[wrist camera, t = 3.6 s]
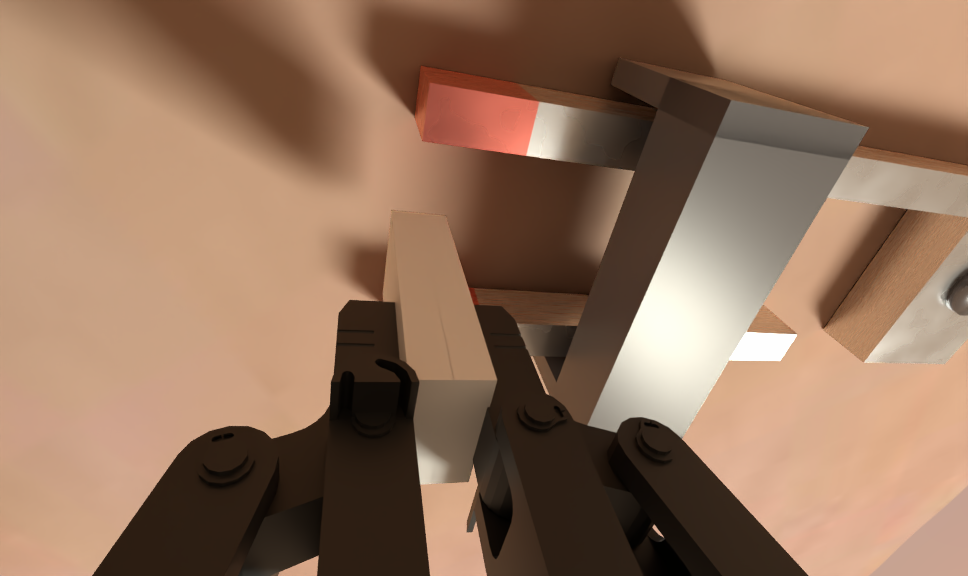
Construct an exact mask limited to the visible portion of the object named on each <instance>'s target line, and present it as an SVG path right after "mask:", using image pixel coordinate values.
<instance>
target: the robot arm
mask: <svg viewBox="0 0 968 576" xmlns="http://www.w3.org/2000/svg"><path fill="white" fill-rule="evenodd" d="M473 464H474V468H475V473H476V478H477V482H478V486H477V490H476V493H475V496H474V500H473V503H472V506H471V510H470V513H469V516H468V520H467V532H473V528H474V525H475V522H477V527H478V532H479V537H480V542H481V547H482V553H483V558H484V563H485V568H486V573H487V576H808V575H807V574H806V572H805V571H804V570H803V569H802V568H801V567H800V566H799V565H798V564H797V563H796V562H795V561H794V560H793V558H792V557H791V556H790V555H789V554H788V553H787V552H786V551H785V550H784V549H783V548H782V547H781V545H780V544H779V543H778V542H777V541H776V540H775V539H774V538H773V537H772V536H771V535H770V534H769V533H768V531H767V530H766V529H765V528H764V527H763V526H762V525H761V524H760V523H759V522H758V521H757V520H756V518H755V517H754V516H753V515H752V514H751V513H750V512H749V511H748V510H747V509H746V508H745V507H744V506H743V504H742V503H741V502H740V501H739V500H738V499H737V498H736V497H735V496H734V495H733V494H732V493H731V491H730V490H729V489H728V488H727V487H726V486H725V485H724V484H723V483H722V482H721V481H720V480H719V479H718V477H717V476H716V475H715V474H714V473H713V472H712V471H711V470H710V469H709V468H708V467H707V466H706V464H705V463H704V462H703V461H702V460H701V459H700V458H699V457H698V456H697V455H696V454H695V453H694V452H693V450H692V449H691V448H690V447H689V446H688V445H687V444H686V443H685V442H684V441H683V440H682V439H681V438H680V437H679V436H678V435H677V434H676V433H675V432H673V431H672V430H671V429H670V428H669V427H667V426H665V425H663V424H661V423H659V422H657V421H655V420H652V419H648V418H644V417H633V418H629V419H627V420H625V421H623V422H621V424H620V426H619V428H618V430H617V432H612V431H608V430H604V429H600V428H596V427H592V426H588V425H585V424H582V423H579V422H576V421H574V420H573V418H572V416H571V414H570V413H569V411H568V410H567V409H566V407H565V406H564V405H563V404H562V403H560V402H559V401H558V400H557V399H555V398H554V397H552V396H550V395H547V394H546V393H545V391H544V388H543V386H542V383H541V381H540V379H539V376H538V374H537V371H536V369H535V366H534V364H533V362H532V359H531V357H530V354H529V352H528V350H527V349H526V345H525V342H524V340H523V338H522V337H521V333H520V330H519V328H518V326H517V323H516V321H515V319H514V318H513V317H512V316H511V315H510V314H509V313H508V312H507V311H506V310H505V309H504V308H503V307H502V306H491V305H474V304H473V301H472V298H471V295H470V291H469V288H468V285H467V282H466V279H465V275H464V272H463V269H462V266H461V263H460V259H459V256H458V253H457V250H456V247H455V243H454V240H453V237H452V234H451V231H450V227H449V224H448V221H447V218H446V215H436V214H426V213H416V212H406V211H396V210H391V219H390V229H389V238H388V248H387V257H386V267H385V276H384V286H383V302H380V301H359V300H349V301H348V303H347V304H346V305H345V306H344V308H343V309H342V310H341V311H340V312H339V316H338V329H337V341H336V354H335V366H334V375H333V378H332V381H331V394H330V406H329V407H328V409H327V411H326V412H325V414H324V415H323V416H322V417H321V418H319V419H318V420H317V421H316V422H315V423H313V424H311V425H310V426H308V427H307V428H305V429H302V430H299V431H297V432H294V433H291V434H288V435H284V436H280V437H277V438H273V439H271V438H270V437H269V436H268V435H267V434H266V433H265V432H263V431H261V430H258V429H255V428H252V427H249V426H228V427H224V428H220V429H216V430H212V431H209V432H207V433H205V434H204V435H202V436H200V437H198V438H196V439H195V440H193V441H191V442H190V443H189V444H188V445H187V446H186V447H185V448H184V449H183V450H182V451H181V452H180V453H179V454H178V455H177V457H176V458H175V459H174V461H173V462H172V464H171V465H170V466H169V468H168V469H167V471H166V472H165V474H164V475H163V476H162V478H161V479H160V481H159V482H158V483H157V485H156V486H155V488H154V489H153V491H152V492H151V493H150V495H149V496H148V498H147V499H146V500H145V502H144V503H143V505H142V506H141V507H140V509H139V510H138V512H137V513H136V515H135V516H134V517H133V519H132V520H131V522H130V523H129V524H128V526H127V527H126V529H125V530H124V531H123V533H122V534H121V536H120V537H119V539H118V540H117V541H116V543H115V544H114V546H113V547H112V548H111V550H110V551H109V553H108V554H107V556H106V557H105V558H104V560H103V561H102V563H101V564H100V565H99V567H98V568H97V570H96V571H95V572H94V574H93V575H92V576H278V574H279V572H280V571H283V570H285V569H287V568H290V567H292V566H295V565H297V564H299V563H302V562H304V561H307V560H309V559H311V558H314V557H316V556H318V555H319V559H318V572H317V576H430V572H429V562H428V553H427V543H426V534H425V525H424V515H423V506H422V496H421V487H420V484H438V483H457V482H469V478H470V475H471V471H472V468H473ZM654 524H655V526H656V527H657V528H658V530H659V531H660V532H661V534H662V535H663V536H664V538H663V537H662V536H660V535H658V533H657V532H656V531H655V530H654V529H653V528H652V527H653V525H654Z"/></svg>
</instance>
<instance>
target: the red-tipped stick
mask: <svg viewBox="0 0 968 576" xmlns="http://www.w3.org/2000/svg"><path fill="white" fill-rule="evenodd" d="M469 291H470V295H471V298H472V301H473V304H474V305H491V306H502V307H503V308H504V309H505V310H506V311H507V312H508V313H509V314H510V315H511V316H512V317H513V318H514V319H515V321H516V323H517V326H518V328H519V330H520V333H521V337H522V338H523V340H524V342H525V345H526V349H527V350H528V352H529V354H530V356H552V357H566V356H567V353H568V350H569V347H570V345H571V342H572V339H573V337H574V334H575V331H576V329H577V326H578V323H579V320H580V318H581V315H582V312H583V310H584V307H585V304H586V302H587V299H588V296H589V295H584V294H566V293H549V292H532V291H515V290H498V289H481V288H469ZM797 335H798V334H797V333H795V332H794V331H793V330H792V329H791V328H790V327H788V326H787V325H786V324H785V323H784V322H783V321H781V320H780V319H779V318H778V317H777V316H776V315H775V314H773V313H772V312H771V311H770V310H769V309H768V308H766V307H765V306H764V305H762V307H761V308H760V310H759V312H758V313H757V315H756V317H755V318H754V320H753V322H752V323H751V325H750V327H749V328H748V330H747V332H746V333H745V335H744V337H743V338H742V340H741V341H740V343H739V345H738V346H737V348H736V350H735V351H734V353H733V355H732V356H731V358H730V360H760V361H780V360H781V358H782V357H783V356H784V354H785V353H786V351H787V350H788V348H789V347H790V345H791V344H792V342H793V341H794V339H795V338H796V336H797Z"/></svg>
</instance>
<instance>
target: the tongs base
mask: <svg viewBox="0 0 968 576" xmlns="http://www.w3.org/2000/svg"><path fill="white" fill-rule="evenodd" d="M657 110H658V109H656V108H650V107H645V106H639V105H634V104H628V103H623V102H617V101H612V100H606V99H601V98H595V97H590V96H584V95H579V94H574V93H568V92H563V91H557V90H552V89H546V88H541V87H535V86H530V85H524V84H519V83H513V82H508V81H502V80H497V79H491V78H486V77H480V76H475V75H469V74H464V73H458V72H453V71H447V70H442V69H436V68H431V67H425V66H421V68H420V76H419V85H418V93H417V102H416V110H415V120H416V123H417V126H418V129H419V132H420V136H421V139H422V141H424V142H432V143H439V144H446V145H453V146H460V147H467V148H474V149H482V150H489V151H496V152H503V153H510V154H517V155H525V156H532V157H539V158H546V159H553V160H560V161H568V162H575V163H582V164H589V165H596V166H603V167H610V168H618V169H625V170H632V171H635V169H636V167H637V164H638V161H639V159H640V156H641V153H642V151H643V148H644V145H645V142H646V140H647V137H648V134H649V132H650V129H651V126H652V124H653V121H654V118H655V116H656V113H657ZM827 198H832V199H840V200H847V201H854V202H861V203H868V204H875V205H882V206H890V207H897V208H904V209H908V210H907V211H906V213H905V214H904V216H903V217H902V218H901V220H900V221H899V223H898V224H897V226H896V227H895V228H894V230H893V231H892V233H891V234H890V235H889V237H888V238H887V240H886V241H885V243H884V244H883V245H882V247H881V248H880V250H879V251H878V253H877V254H876V255H875V257H874V258H873V260H872V261H871V262H870V264H869V265H868V267H867V268H866V270H865V271H864V272H863V274H862V275H861V277H860V278H859V280H858V281H857V282H856V284H855V285H854V287H853V288H852V290H851V291H850V292H849V294H848V295H847V297H846V298H845V299H844V301H843V302H842V304H841V305H840V307H839V308H838V309H837V311H836V312H835V314H834V315H833V317H832V318H831V319H830V321H829V322H828V324H827V325H826V326H825V328H824V329H823V330H824V331H825V332H826V333H828V334H829V335H830V336H831V337H833V338H834V339H835V340H836V341H838V342H839V343H840V344H841V345H842V346H844V347H845V348H846V349H847V350H849V351H850V352H851V353H852V354H854V355H855V356H856V357H857V358H859V359H860V360H861V361H862V362H864V363H916V364H945V363H946V362H947V361H948V360H949V359H950V358H951V357H952V356H953V355H954V353H955V352H956V351H957V350H958V349H959V348H960V347H961V346H962V345H963V344H964V342H965V341H966V340H967V339H968V165H963V164H957V163H952V162H946V161H941V160H935V159H930V158H925V157H919V156H914V155H908V154H903V153H897V152H892V151H886V150H881V149H875V148H870V147H864V146H859V145H858V147H857V149H856V150H855V152H854V154H853V155H852V157H851V159H850V160H849V162H848V164H847V165H846V167H845V169H844V170H843V172H842V174H841V175H840V177H839V179H838V180H837V182H836V184H835V185H834V187H833V189H832V190H831V192H830V194H829V195H828V197H827Z"/></svg>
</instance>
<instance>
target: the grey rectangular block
mask: <svg viewBox="0 0 968 576" xmlns="http://www.w3.org/2000/svg"><path fill="white" fill-rule="evenodd" d="M611 85H612V86H614V87H616V88H618V89H620V90H622V91H624V92H626V93H628V94H630V95H632V96H634V97H636V98H638V99H640V100H642V101H644V102H646V103H648V104H650V105H652V106H654V107H656V108H658V110H657V113H656V116H655V118H654V121H653V124H652V126H651V129H650V132H649V134H648V137H647V140H646V142H645V145H644V148H643V151H642V153H641V156H640V159H639V161H638V164H637V167H636V169H635V172H634V175H633V178H632V180H631V183H630V186H629V188H628V191H627V194H626V196H625V199H624V202H623V205H622V207H621V210H620V213H619V215H618V218H617V221H616V223H615V226H614V229H613V231H612V234H611V237H610V240H609V242H608V245H607V248H606V250H605V253H604V256H603V258H602V261H601V264H600V267H599V269H598V272H597V275H596V277H595V280H594V283H593V285H592V288H591V291H590V294H589V296H588V299H587V302H586V304H585V307H584V310H583V312H582V315H581V318H580V320H579V323H578V326H577V329H576V331H575V334H574V337H573V339H572V342H571V345H570V347H569V350H568V353H567V356H566V357H552V356H533V357H534V360H535V362H536V364H537V367H538V369H539V371H540V374H541V376H542V379H543V381H544V383H545V386H546V388H547V390H548V393H549V395H550V396H552V397H554V398H555V399H557V400H558V401H559V402H560V403H562V404H563V405H564V406H565V407H566V409H567V410H568V411H569V413H570V414H571V416H572V418H573V420H574V421H576V422H579V423H582V424H585V425H588V426H592V427H596V428H600V429H604V430H608V431H612V432H617V430H618V428H619V426H620V424H621V422H623V421H625V420H627V419H629V418H633V417H644V418H648V419H652V420H655V421H657V422H659V423H661V424H663V425H665V426H667V427H669V428H670V429H671V430H672V431H673V432H675V433H676V434H677V435H678V436H679V437H680V438H681V439H682V438H683V436H684V435H685V433H686V431H687V430H688V428H689V426H690V425H691V423H692V421H693V420H694V418H695V416H696V415H697V413H698V411H699V410H700V408H701V406H702V405H703V403H704V401H705V400H706V398H707V396H708V395H709V393H710V391H711V390H712V388H713V386H714V385H715V383H716V381H717V380H718V378H719V376H720V375H721V373H722V371H723V370H724V368H725V366H726V365H727V363H728V361H729V360H730V358H731V356H732V355H733V353H734V351H735V350H736V348H737V346H738V345H739V343H740V341H741V340H742V338H743V337H744V335H745V333H746V332H747V330H748V328H749V327H750V325H751V323H752V322H753V320H754V318H755V317H756V315H757V313H758V312H759V310H760V308H761V307H762V305H763V303H764V302H765V300H766V298H767V297H768V295H769V293H770V292H771V290H772V288H773V287H774V285H775V283H776V282H777V280H778V278H779V277H780V275H781V273H782V272H783V270H784V268H785V267H786V265H787V263H788V262H789V260H790V258H791V257H792V255H793V253H794V252H795V250H796V248H797V247H798V245H799V243H800V242H801V240H802V238H803V237H804V235H805V233H806V232H807V230H808V228H809V227H810V225H811V223H812V222H813V220H814V218H815V217H816V215H817V213H818V212H819V210H820V208H821V207H822V205H823V204H824V202H825V200H826V199H827V197H828V195H829V194H830V192H831V190H832V189H833V187H834V185H835V184H836V182H837V180H838V179H839V177H840V175H841V174H842V172H843V170H844V169H845V167H846V165H847V164H848V162H849V160H850V159H851V157H852V155H853V154H854V152H855V150H856V149H857V147H858V145H859V144H860V142H861V140H862V139H863V137H864V135H865V134H866V132H867V130H868V129H869V127H867V126H864V125H861V124H858V123H855V122H851V121H848V120H845V119H842V118H839V117H836V116H833V115H830V114H827V113H824V112H821V111H818V110H815V109H812V108H809V107H806V106H803V105H800V104H797V103H794V102H791V101H788V100H785V99H782V98H778V97H775V96H772V95H769V94H766V93H763V92H760V91H757V90H754V89H751V88H748V87H745V86H742V85H739V84H736V83H733V82H730V81H727V80H723V79H718V78H714V77H709V76H704V75H699V74H695V73H690V72H685V71H680V70H676V69H671V68H666V67H661V66H657V65H652V64H647V63H642V62H638V61H633V60H628V59H623V58H619V59H618V62H617V66H616V69H615V72H614V75H613V78H612V81H611Z"/></svg>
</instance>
